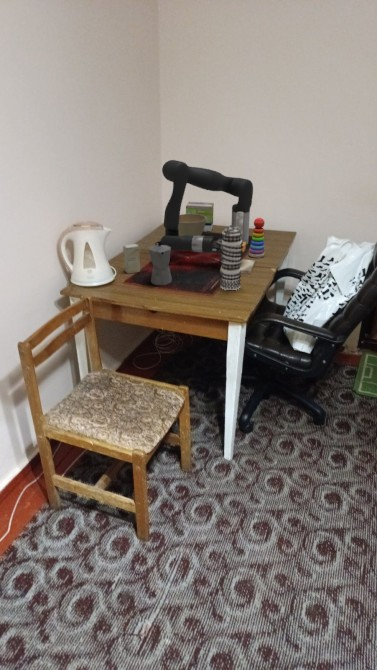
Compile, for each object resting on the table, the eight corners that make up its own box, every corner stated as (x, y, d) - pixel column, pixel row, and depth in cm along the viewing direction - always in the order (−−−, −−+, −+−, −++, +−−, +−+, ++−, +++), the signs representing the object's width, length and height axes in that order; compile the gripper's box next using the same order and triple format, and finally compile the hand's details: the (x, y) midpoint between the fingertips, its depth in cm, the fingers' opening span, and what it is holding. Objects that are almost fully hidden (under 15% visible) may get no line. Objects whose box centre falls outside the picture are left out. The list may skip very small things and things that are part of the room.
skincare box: (128, 274, 207) (125, 248, 201) (124, 270, 211) (122, 245, 205) (141, 271, 210) (139, 245, 204) (137, 268, 213) (135, 243, 207)
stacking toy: (264, 258, 222) (266, 220, 213) (247, 258, 223) (249, 220, 214) (265, 253, 229) (267, 216, 220) (249, 252, 230) (251, 215, 221)
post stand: (219, 271, 208) (221, 215, 196) (226, 261, 220) (227, 207, 208) (250, 274, 205) (253, 217, 192) (254, 263, 217) (258, 209, 204)
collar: (231, 251, 207) (231, 244, 205) (233, 247, 211) (233, 241, 210) (243, 252, 205) (243, 245, 204) (245, 248, 210) (245, 242, 209)
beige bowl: (185, 233, 261) (185, 212, 255) (212, 238, 252) (212, 216, 246) (166, 241, 248) (165, 219, 242) (193, 247, 239) (193, 224, 233)
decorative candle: (244, 289, 190) (247, 230, 177) (223, 292, 187) (225, 233, 175) (236, 281, 197) (238, 224, 185) (216, 284, 195) (217, 226, 183)
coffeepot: (175, 286, 194) (173, 245, 185) (153, 288, 192) (151, 247, 184) (168, 273, 207) (166, 234, 198) (147, 275, 205) (145, 236, 197)
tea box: (185, 231, 265) (185, 205, 258) (188, 226, 274) (188, 201, 267) (211, 232, 263) (211, 206, 256) (213, 227, 272) (213, 202, 264)
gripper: (199, 240, 204) (235, 243, 200) (206, 231, 216) (240, 234, 212) (199, 256, 207) (234, 259, 204) (206, 247, 219) (239, 249, 216)
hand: (237, 246), depth 208 cm, fingers open, 8 cm apart
